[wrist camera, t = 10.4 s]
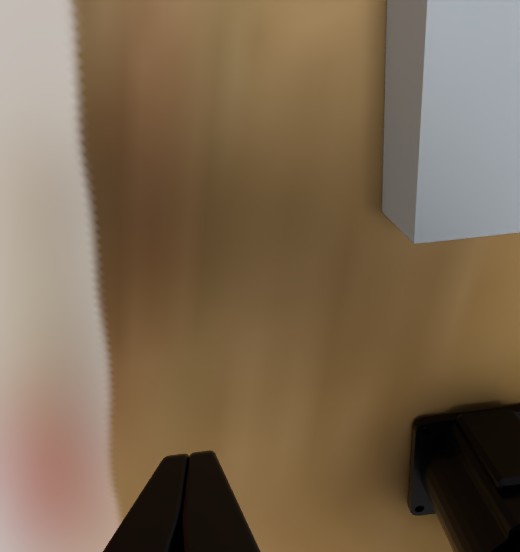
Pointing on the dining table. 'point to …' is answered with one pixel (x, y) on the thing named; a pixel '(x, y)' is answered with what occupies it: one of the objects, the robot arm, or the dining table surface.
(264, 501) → the dining table surface
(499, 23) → the light grey slab
